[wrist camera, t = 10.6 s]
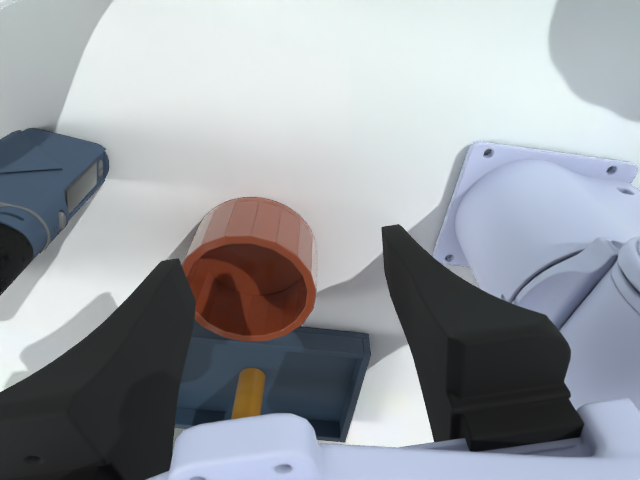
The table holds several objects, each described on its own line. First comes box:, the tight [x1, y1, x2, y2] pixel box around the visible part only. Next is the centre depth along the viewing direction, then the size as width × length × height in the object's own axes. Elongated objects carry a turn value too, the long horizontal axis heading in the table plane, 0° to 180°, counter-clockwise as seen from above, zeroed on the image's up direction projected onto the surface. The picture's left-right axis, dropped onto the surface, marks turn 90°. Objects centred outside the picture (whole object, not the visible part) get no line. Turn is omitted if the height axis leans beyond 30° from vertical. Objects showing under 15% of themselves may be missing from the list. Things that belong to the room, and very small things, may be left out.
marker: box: [231, 368, 265, 419], centre depth 31 cm, size 2×2×8 cm
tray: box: [174, 320, 371, 442], centre depth 34 cm, size 16×10×2 cm, turn 82°
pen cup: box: [182, 197, 317, 342], centre depth 26 cm, size 8×8×4 cm
